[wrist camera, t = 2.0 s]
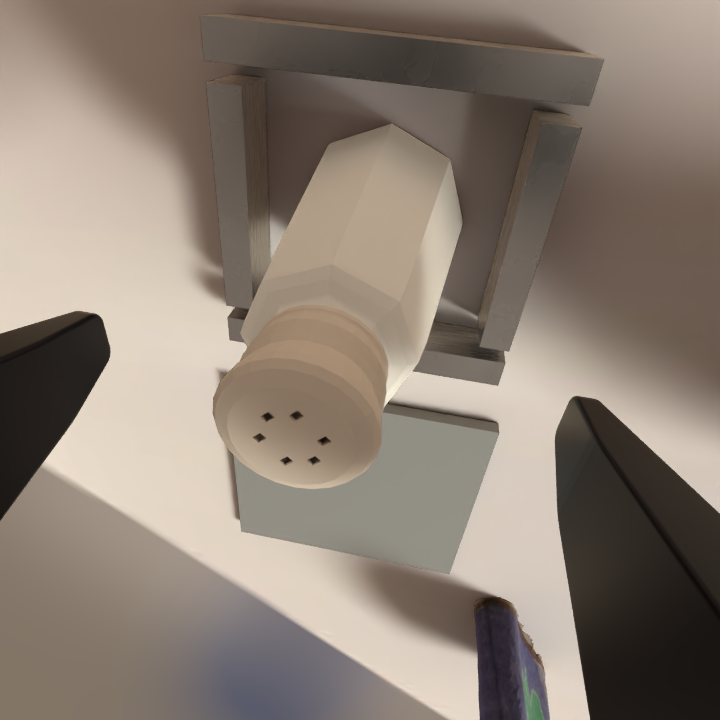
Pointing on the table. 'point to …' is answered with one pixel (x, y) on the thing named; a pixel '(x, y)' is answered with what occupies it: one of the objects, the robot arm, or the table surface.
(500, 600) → the flask
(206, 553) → the table surface
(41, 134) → the table surface
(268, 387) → the pepper shaker
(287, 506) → the mat
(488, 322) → the holder
